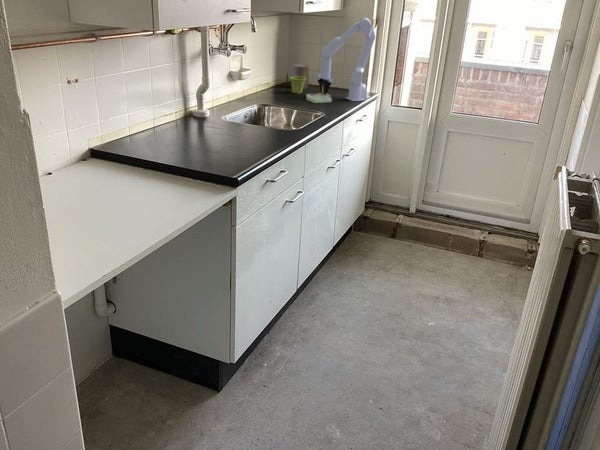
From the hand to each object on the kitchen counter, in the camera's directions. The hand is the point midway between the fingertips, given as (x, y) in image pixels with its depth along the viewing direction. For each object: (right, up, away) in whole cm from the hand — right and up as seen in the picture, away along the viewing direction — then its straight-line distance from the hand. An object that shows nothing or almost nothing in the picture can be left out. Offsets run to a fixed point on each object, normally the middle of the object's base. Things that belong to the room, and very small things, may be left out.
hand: (323, 92), depth 308 cm
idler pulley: (-7, -3, -1) cm, 7 cm away
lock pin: (0, -2, +1) cm, 2 cm away
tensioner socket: (0, -2, +1) cm, 2 cm away
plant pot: (-16, +2, +8) cm, 17 cm away
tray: (-3, -7, -9) cm, 12 cm away
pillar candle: (-14, +8, +22) cm, 27 cm away
